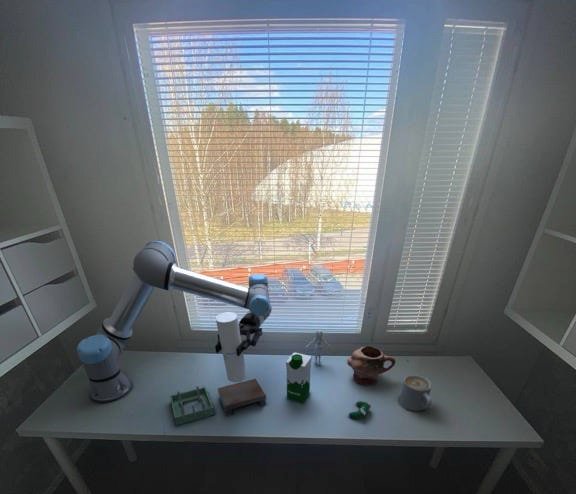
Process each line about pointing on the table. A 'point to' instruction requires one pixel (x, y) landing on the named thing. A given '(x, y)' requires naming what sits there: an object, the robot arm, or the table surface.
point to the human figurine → (318, 345)
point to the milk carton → (298, 376)
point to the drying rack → (191, 396)
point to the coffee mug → (416, 393)
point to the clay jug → (368, 364)
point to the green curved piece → (361, 410)
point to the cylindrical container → (231, 346)
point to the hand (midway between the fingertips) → (227, 351)
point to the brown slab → (241, 395)
